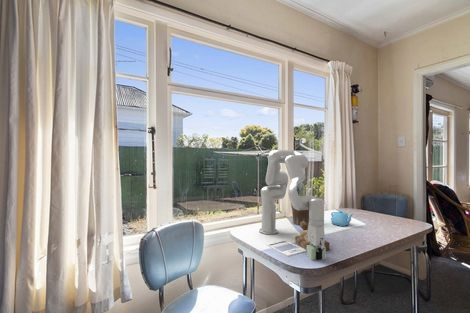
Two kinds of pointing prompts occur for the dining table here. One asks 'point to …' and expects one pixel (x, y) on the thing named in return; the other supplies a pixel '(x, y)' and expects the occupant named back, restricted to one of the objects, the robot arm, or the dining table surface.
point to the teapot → (340, 218)
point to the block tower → (304, 242)
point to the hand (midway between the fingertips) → (315, 256)
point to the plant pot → (300, 216)
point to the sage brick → (314, 252)
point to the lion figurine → (304, 225)
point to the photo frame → (289, 252)
